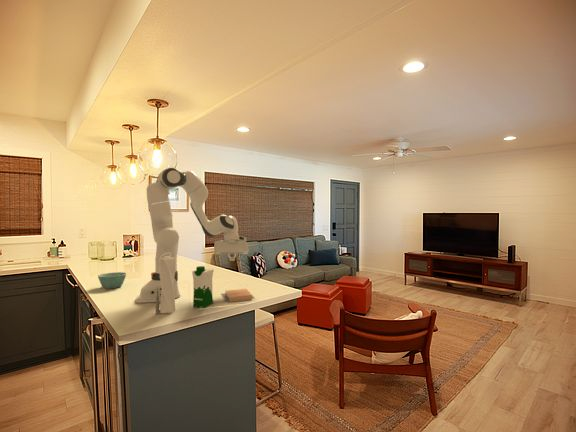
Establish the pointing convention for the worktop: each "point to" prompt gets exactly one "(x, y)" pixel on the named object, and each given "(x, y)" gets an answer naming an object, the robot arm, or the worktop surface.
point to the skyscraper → (166, 285)
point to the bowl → (112, 280)
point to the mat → (227, 299)
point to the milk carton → (202, 287)
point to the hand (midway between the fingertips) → (232, 260)
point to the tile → (238, 295)
